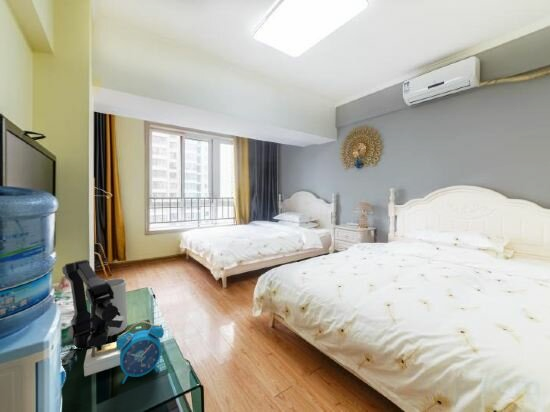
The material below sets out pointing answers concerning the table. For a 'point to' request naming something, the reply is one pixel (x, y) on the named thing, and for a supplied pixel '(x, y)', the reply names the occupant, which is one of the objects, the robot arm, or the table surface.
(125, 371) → the alarm clock
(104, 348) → the brass clasp lever
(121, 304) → the cylinder vase
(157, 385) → the table surface
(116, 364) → the box
